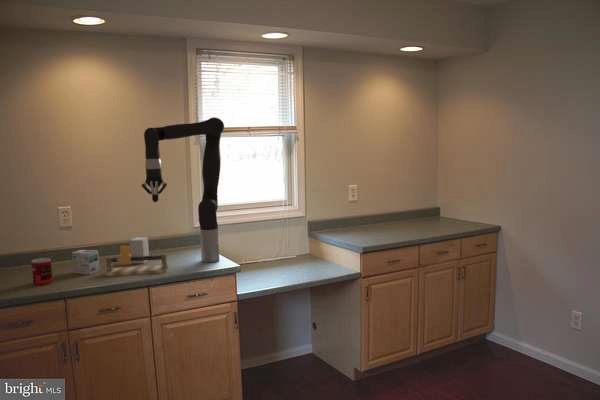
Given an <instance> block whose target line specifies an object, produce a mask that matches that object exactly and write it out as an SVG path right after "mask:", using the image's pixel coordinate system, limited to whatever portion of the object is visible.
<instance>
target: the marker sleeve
mask: <svg viewBox="0 0 600 400" xmlns="http://www.w3.org/2000/svg"><path fill="white" fill-rule="evenodd" d="M119 249H120V250H119V251H120V254H119V255H120V256H119V263H120V264H119V265H120V266H122V265H124V266H125V265H131V264H133V263H132V261H130V257H132V255H131V254H130V245H121V246H120V247H119Z"/></svg>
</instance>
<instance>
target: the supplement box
mask: <svg viewBox="0 0 600 400" xmlns="http://www.w3.org/2000/svg"><path fill="white" fill-rule="evenodd" d="M148 239H149V238H148V237H133V238H132V239H130V240H128V241H129V251H130V254H131V255H132V257H136V256H150V252H149V250H150V249H149V240H148ZM149 261H150V260H143V261H132V263H131V264H145V263H147V262H149Z"/></svg>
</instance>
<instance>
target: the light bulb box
mask: <svg viewBox="0 0 600 400" xmlns="http://www.w3.org/2000/svg"><path fill="white" fill-rule="evenodd" d="M99 258H100V257H99V250H93V249H92V250H89V249H79V250H75V251H71V260H72V269H73V274H78V275H79V274H80V275H88V276H90V275H94V274H96V273H99V272H100V271H101V270H100V261H99V260H100V259H99Z"/></svg>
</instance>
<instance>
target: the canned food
mask: <svg viewBox="0 0 600 400" xmlns="http://www.w3.org/2000/svg"><path fill="white" fill-rule="evenodd" d="M52 268H53V267H52V259H51V258H50V257H40V258H36V259H35V258H34V259H32V260H31V270H32V281H33V282H32V283H33V284H34V285H35V286H45V285H46V284H47V285H50V284H52V283H53V280H54V279H53V269H52Z"/></svg>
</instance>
